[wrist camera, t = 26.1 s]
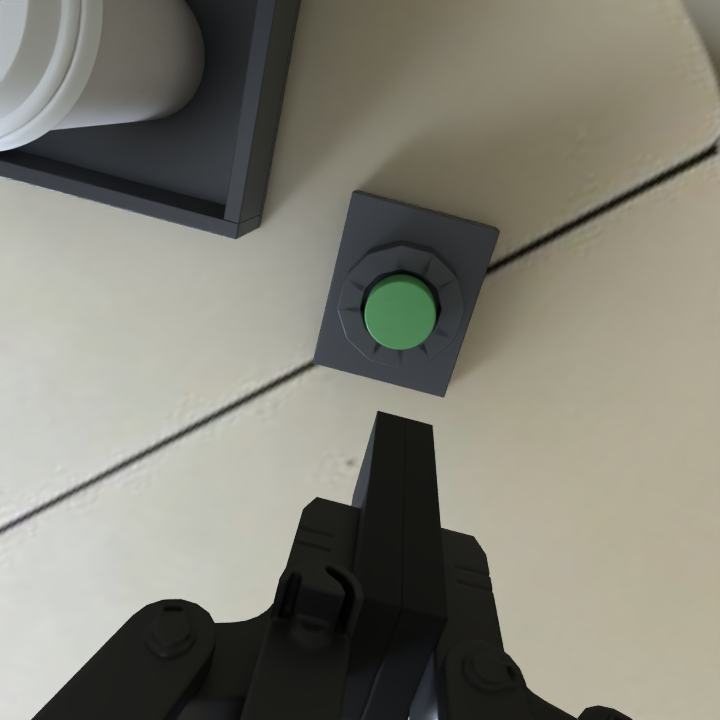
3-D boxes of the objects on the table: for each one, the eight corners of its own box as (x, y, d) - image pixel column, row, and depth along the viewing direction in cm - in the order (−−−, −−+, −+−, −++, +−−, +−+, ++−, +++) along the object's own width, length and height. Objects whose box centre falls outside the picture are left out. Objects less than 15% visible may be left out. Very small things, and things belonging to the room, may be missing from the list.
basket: (12, -162, 26) (-66, -223, 22) (315, -79, 26) (296, -124, 22) (7, 160, 31) (-56, 162, 27) (260, 227, 32) (236, 239, 27)
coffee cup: (12, 28, 29) (-372, -87, 15) (144, -114, 26) (-171, -422, 12) (140, 188, 31) (-86, 220, 17) (273, 71, 28) (136, -5, 14)
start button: (376, 266, 29) (374, 272, 28) (443, 283, 29) (445, 291, 28) (359, 329, 31) (357, 339, 29) (423, 346, 31) (424, 357, 29)
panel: (354, 189, 30) (349, 193, 28) (496, 227, 31) (505, 235, 28) (315, 356, 34) (307, 374, 31) (442, 389, 34) (445, 411, 31)
